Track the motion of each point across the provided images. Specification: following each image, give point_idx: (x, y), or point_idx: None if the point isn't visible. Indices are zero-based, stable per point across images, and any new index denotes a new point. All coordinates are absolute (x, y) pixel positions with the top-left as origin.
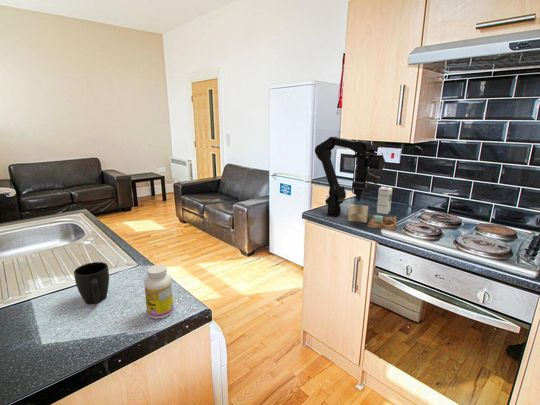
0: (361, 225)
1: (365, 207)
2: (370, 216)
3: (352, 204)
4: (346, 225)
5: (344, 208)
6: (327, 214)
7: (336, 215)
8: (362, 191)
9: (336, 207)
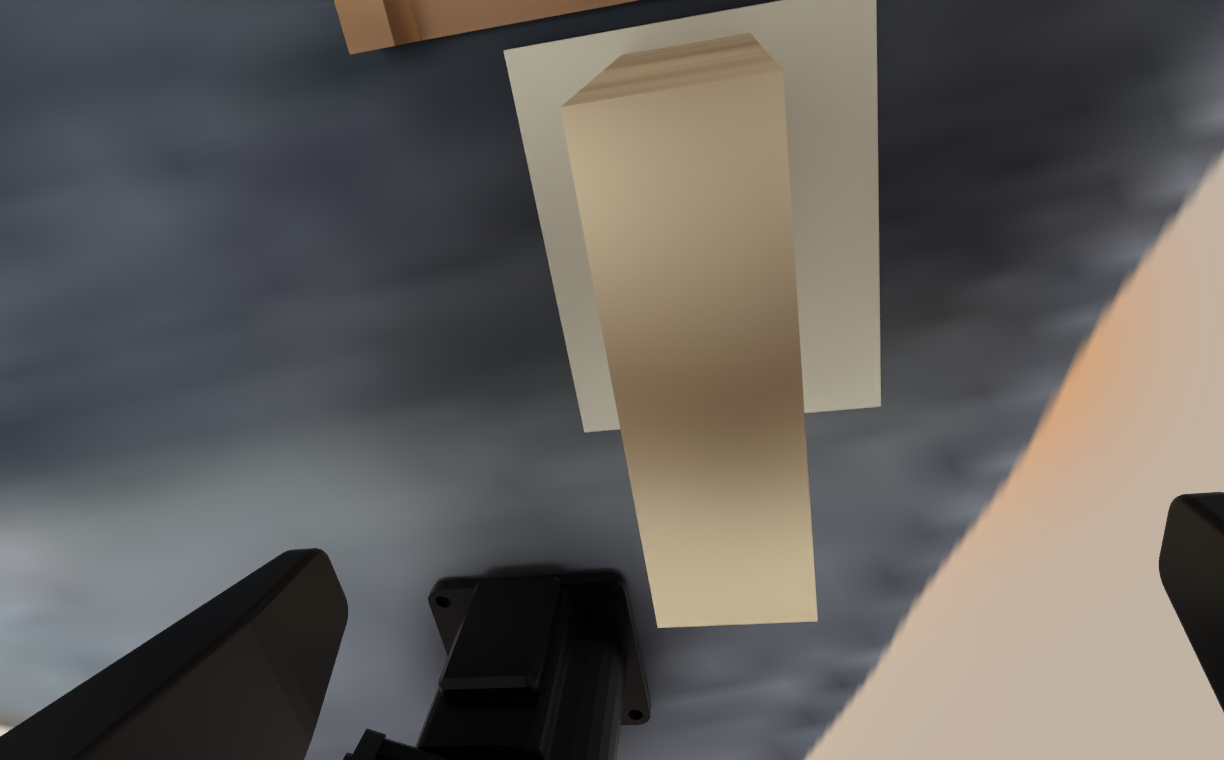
0: (925, 100)
1: (788, 165)
2: (397, 34)
3: (662, 575)
4: (1041, 360)
5: (117, 586)
6: (629, 713)
7: (610, 610)
8: (150, 756)
9: (579, 735)
